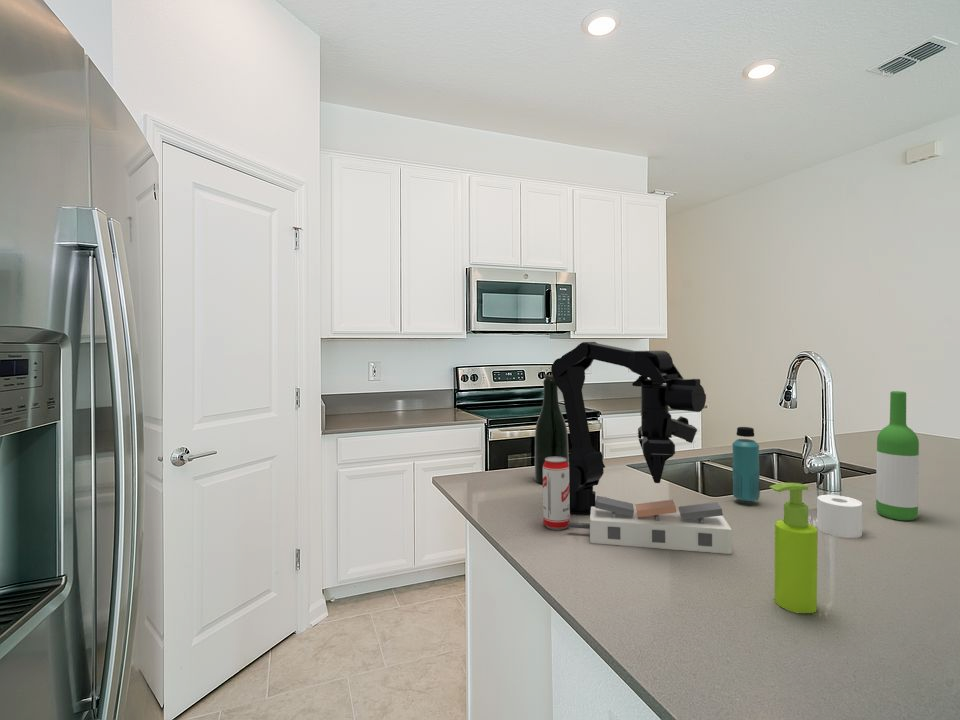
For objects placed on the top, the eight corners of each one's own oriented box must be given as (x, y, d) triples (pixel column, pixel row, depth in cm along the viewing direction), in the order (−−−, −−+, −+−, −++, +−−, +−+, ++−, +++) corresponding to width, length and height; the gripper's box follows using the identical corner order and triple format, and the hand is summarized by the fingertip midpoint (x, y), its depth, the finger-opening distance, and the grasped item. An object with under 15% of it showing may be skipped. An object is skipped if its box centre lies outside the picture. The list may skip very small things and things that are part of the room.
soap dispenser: (760, 596, 85) (761, 480, 84) (799, 594, 86) (800, 478, 85) (784, 615, 79) (785, 490, 78) (825, 613, 80) (827, 488, 79)
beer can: (572, 522, 121) (571, 456, 120) (567, 532, 115) (566, 463, 114) (546, 520, 123) (545, 455, 122) (540, 529, 117) (539, 461, 116)
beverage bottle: (763, 507, 129) (764, 429, 128) (735, 506, 130) (735, 429, 129) (755, 499, 135) (755, 425, 134) (728, 498, 136) (728, 425, 135)
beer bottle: (545, 474, 163) (543, 373, 162) (574, 479, 157) (573, 374, 156) (528, 482, 155) (527, 375, 153) (559, 488, 148) (558, 376, 147)
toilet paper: (835, 519, 120) (835, 490, 119) (871, 537, 108) (871, 506, 108) (800, 519, 120) (800, 491, 119) (833, 538, 109) (833, 506, 108)
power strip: (566, 541, 110) (566, 514, 109) (569, 526, 118) (569, 501, 118) (731, 554, 102) (731, 525, 101) (721, 536, 110) (721, 510, 110)
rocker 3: (682, 520, 106) (681, 513, 106) (679, 512, 110) (678, 506, 110) (723, 515, 104) (721, 508, 104) (718, 508, 108) (717, 501, 108)
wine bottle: (911, 512, 123) (913, 390, 121) (923, 523, 116) (925, 394, 114) (871, 508, 126) (873, 389, 125) (881, 519, 119) (883, 393, 118)
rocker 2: (637, 517, 108) (636, 510, 108) (636, 510, 112) (635, 504, 112) (676, 512, 106) (675, 506, 106) (673, 505, 110) (672, 499, 110)
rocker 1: (595, 507, 110) (596, 501, 110) (595, 501, 114) (596, 495, 114) (632, 516, 108) (634, 510, 108) (631, 509, 113) (632, 503, 112)
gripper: (701, 414, 100) (701, 491, 101) (687, 402, 118) (687, 468, 119) (643, 413, 103) (643, 488, 104) (637, 401, 121) (637, 466, 122)
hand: (655, 477), depth 112 cm, fingers open, 9 cm apart
